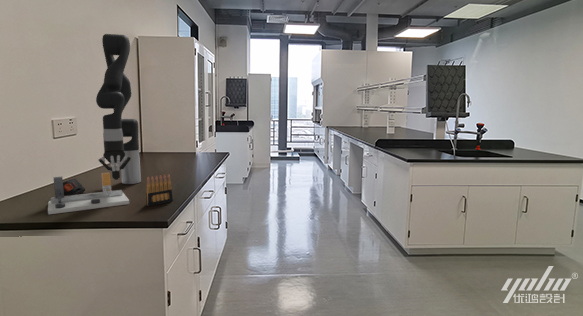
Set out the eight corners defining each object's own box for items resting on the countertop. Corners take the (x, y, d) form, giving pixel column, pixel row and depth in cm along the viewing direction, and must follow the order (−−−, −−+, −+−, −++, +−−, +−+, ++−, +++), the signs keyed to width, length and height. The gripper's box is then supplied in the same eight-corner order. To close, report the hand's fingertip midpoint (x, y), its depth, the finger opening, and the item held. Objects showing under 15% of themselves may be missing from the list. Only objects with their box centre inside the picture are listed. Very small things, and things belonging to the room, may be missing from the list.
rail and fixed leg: (51, 202, 148) (49, 177, 147) (121, 193, 162) (120, 171, 161) (51, 208, 139) (48, 182, 138) (125, 199, 153) (124, 175, 151)
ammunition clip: (148, 205, 149) (146, 176, 147) (146, 205, 150) (144, 176, 148) (172, 201, 156) (171, 173, 155) (170, 200, 158) (169, 172, 156)
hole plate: (48, 204, 150) (48, 198, 150) (123, 195, 165) (123, 190, 164) (48, 214, 137) (47, 207, 136) (129, 203, 151) (129, 197, 151)
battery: (61, 202, 160) (73, 193, 159) (50, 187, 160) (62, 178, 159) (79, 198, 171) (90, 189, 171) (69, 184, 172) (80, 175, 171)
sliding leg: (102, 191, 158) (101, 172, 157) (110, 191, 160) (109, 172, 159) (105, 197, 149) (104, 177, 147) (113, 196, 150) (112, 176, 149)
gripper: (128, 138, 163) (131, 176, 165) (95, 139, 156) (98, 179, 158) (131, 139, 157) (134, 179, 159) (96, 140, 149) (99, 182, 152)
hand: (116, 179), depth 159 cm, fingers closed
